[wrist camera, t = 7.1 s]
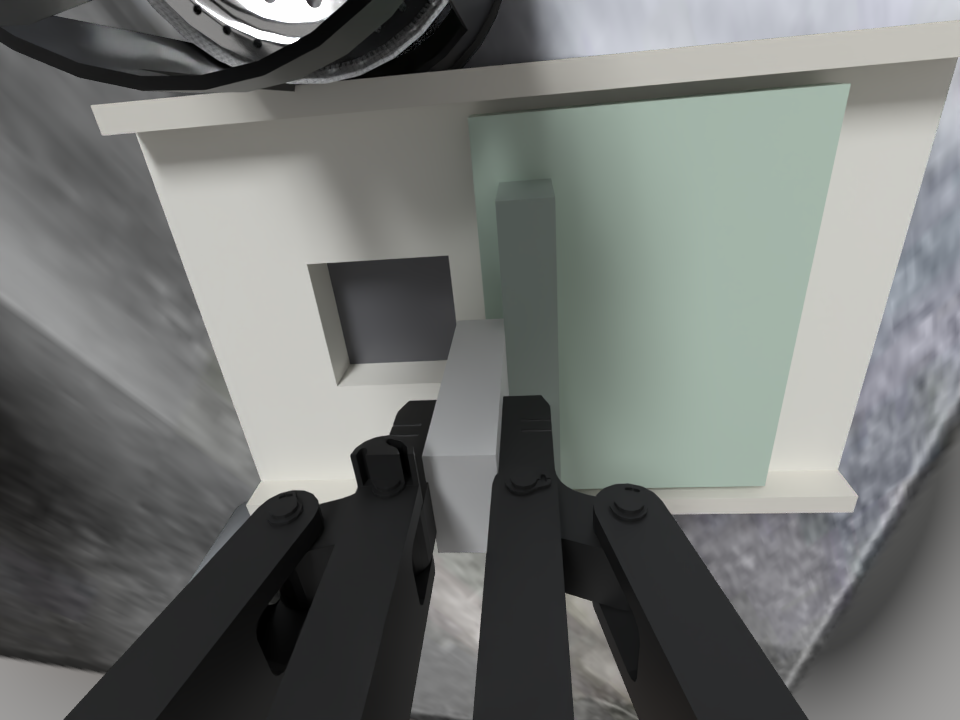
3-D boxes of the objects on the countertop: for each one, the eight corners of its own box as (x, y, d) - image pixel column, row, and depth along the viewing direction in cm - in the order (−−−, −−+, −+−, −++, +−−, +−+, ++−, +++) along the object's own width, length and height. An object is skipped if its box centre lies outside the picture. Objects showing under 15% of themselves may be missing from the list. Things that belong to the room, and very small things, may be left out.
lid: (501, 473, 22) (498, 538, 19) (470, 114, 16) (458, 127, 13) (754, 468, 21) (793, 536, 18) (831, 82, 15) (911, 87, 12)
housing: (283, 465, 26) (251, 519, 23) (162, 98, 18) (90, 105, 15) (810, 453, 24) (853, 512, 20) (920, 23, 16) (1014, 14, 13)
